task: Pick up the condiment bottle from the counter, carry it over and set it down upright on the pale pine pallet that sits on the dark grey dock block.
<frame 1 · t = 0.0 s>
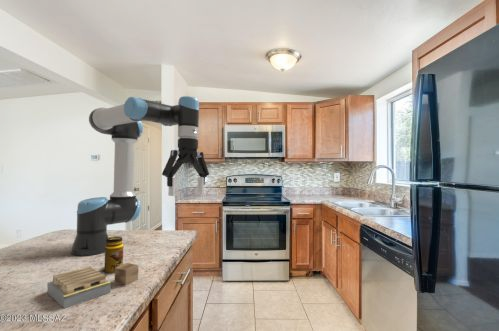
hand: (186, 194, 100), 28 cm above the countertop, fingers open, 13 cm apart
pallet: (79, 282, 79), resting on dock
brown cube: (126, 281, 88), on the countertop
condiment: (111, 271, 96), on the countertop
dock: (79, 292, 79), on the countertop
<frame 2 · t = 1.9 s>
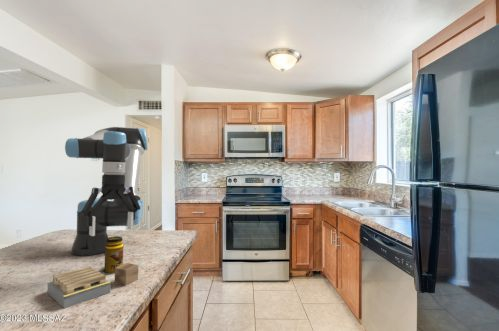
hand: (112, 232, 96), 14 cm above the countertop, fingers open, 13 cm apart
nothing on the countertop moved.
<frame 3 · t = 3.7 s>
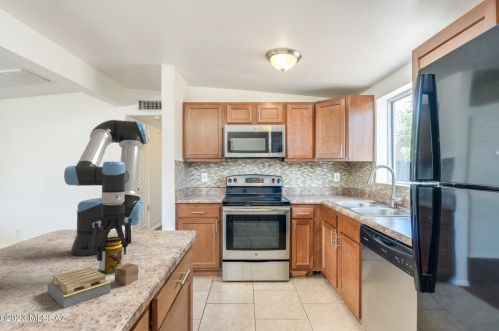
hand: (111, 266, 96), 1 cm above the countertop, fingers closed on condiment, 6 cm apart
condiment: (109, 271, 96), on the countertop, touching gripper
everything else where it was.
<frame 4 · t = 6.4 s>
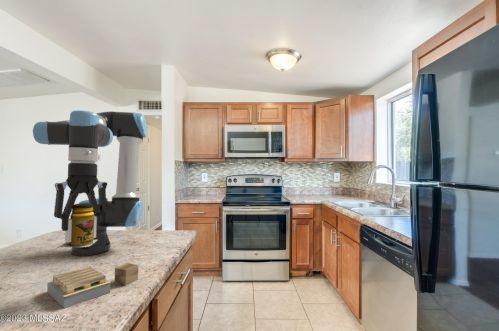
hand: (80, 238, 80), 16 cm above the countertop, fingers closed on condiment, 6 cm apart
condiment: (78, 244, 79), point 14 cm above the countertop, touching gripper
everything else where it was.
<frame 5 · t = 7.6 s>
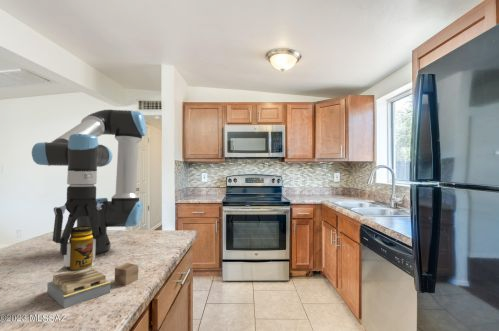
hand: (79, 262, 79), 9 cm above the countertop, fingers closed on condiment, 6 cm apart
condiment: (77, 268, 79), point 7 cm above the countertop, touching gripper
everything else where it was.
when the fingers open (7 cm above the countertop, at t = 8.7 s): condiment stays where it is, resting on pallet.
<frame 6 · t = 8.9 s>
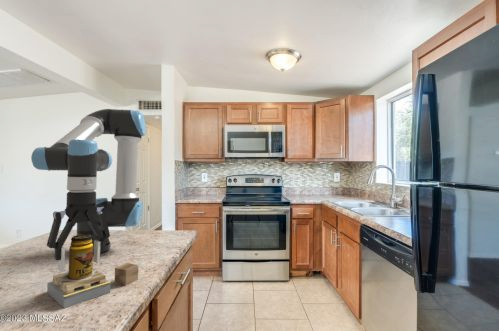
hand: (79, 265, 79), 8 cm above the countertop, fingers open, 9 cm apart
condiment: (77, 276, 79), point 5 cm above the countertop, touching pallet
everything else where it was.
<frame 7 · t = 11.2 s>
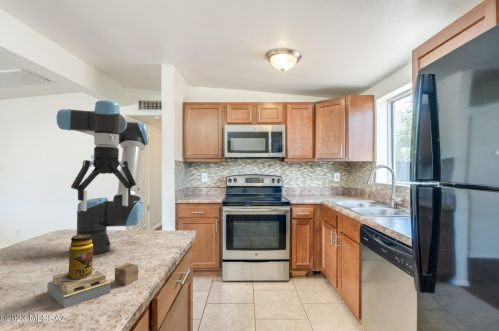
hand: (105, 208, 91), 24 cm above the countertop, fingers open, 13 cm apart
nothing on the countertop moved.
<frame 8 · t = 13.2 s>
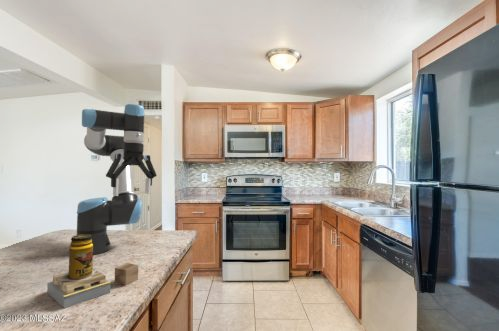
hand: (132, 194, 108), 27 cm above the countertop, fingers open, 13 cm apart
nothing on the countertop moved.
at the end: condiment inside the target area on the pallet (0.5 cm from its centre), point 1.8 cm above the pallet's base; condiment tilted 0°; the gripper is holding nothing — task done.
